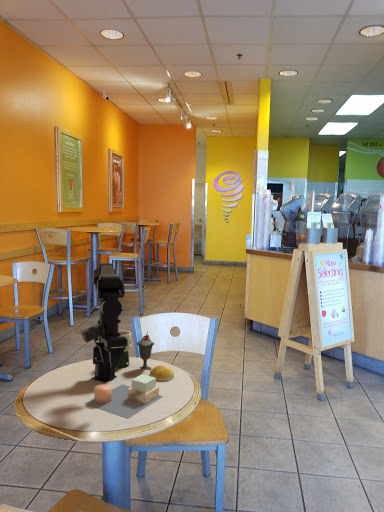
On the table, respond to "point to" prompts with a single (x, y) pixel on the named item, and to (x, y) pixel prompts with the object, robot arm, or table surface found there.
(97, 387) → the peach gumdrop
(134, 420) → the table surface
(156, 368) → the bread roll
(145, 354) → the sundae
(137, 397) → the tower base
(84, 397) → the table surface
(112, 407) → the mat
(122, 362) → the character mug
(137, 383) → the tower top
